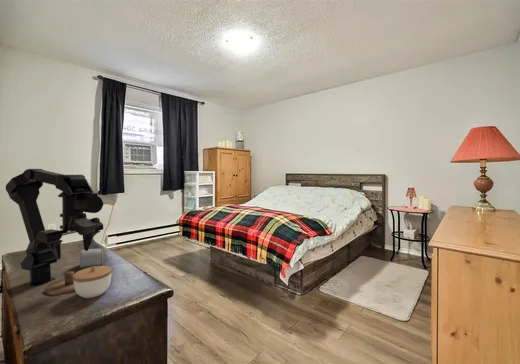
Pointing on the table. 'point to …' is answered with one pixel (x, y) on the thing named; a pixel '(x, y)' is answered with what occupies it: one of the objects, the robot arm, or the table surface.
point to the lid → (61, 285)
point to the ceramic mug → (91, 258)
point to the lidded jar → (92, 281)
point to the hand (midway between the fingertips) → (73, 254)
